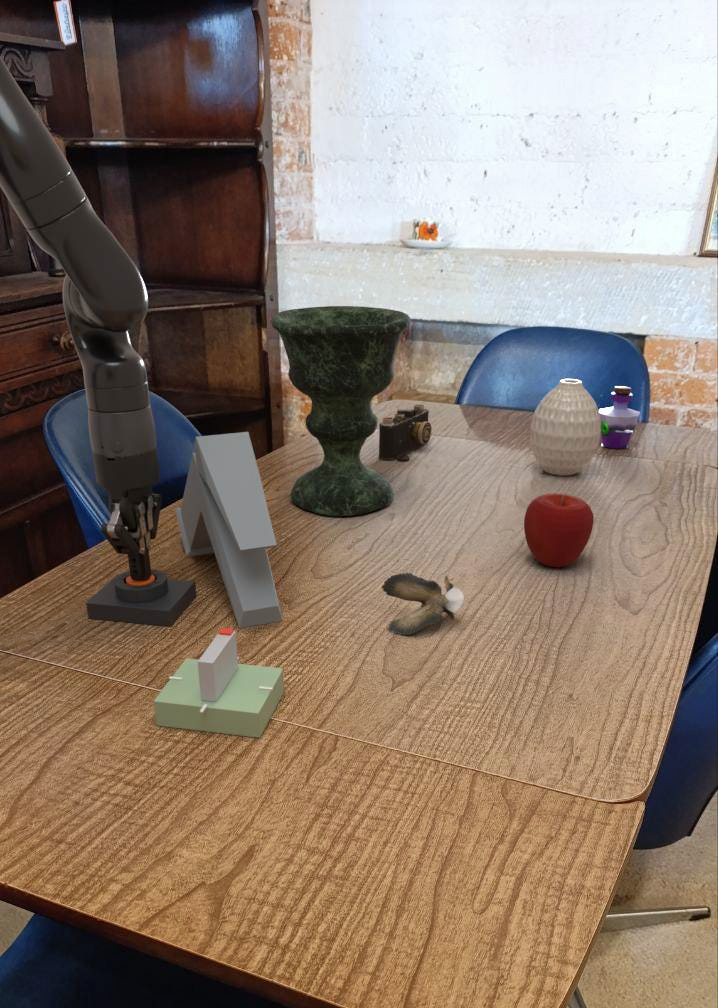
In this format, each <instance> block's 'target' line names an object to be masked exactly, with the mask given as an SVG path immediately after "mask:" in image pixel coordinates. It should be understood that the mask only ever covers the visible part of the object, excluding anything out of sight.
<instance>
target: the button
mask: <svg viewBox="0 0 718 1008" xmlns="http://www.w3.org/2000/svg"><path fill="white" fill-rule="evenodd" d="M154 582H155V577H154V575H152V574H151V576H150V577H149V578H148V579H147V580H146V581H137V580H132V579H131V576H128V577H127V578H126V584H127V585H129V586H144V585H148V584H151V583H154Z"/></svg>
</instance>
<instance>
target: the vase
mask: <svg viewBox="0 0 718 1008" xmlns="http://www.w3.org/2000/svg"><path fill="white" fill-rule="evenodd" d="M599 410H600V409H599V408H598V405H597V403H596V401H595V400H594V397H593V396H592V395H591V393H590V392H589V391H588V390H587V389H586V388H585V387H584V385H583V382H582V380H579V379H574V378H564V379H561V380H559V382H558V384H557V385H556V386H555V387H553V389H551V390H550V391H549V392H548V393H547V394H546V395H544V396H543V398H542V399H541V400H540V402H539V403H538V405H537V407H536V408H535V410H534V412H533V415H532V418H531V422H530V426H529V444H530V449H531V451H532V454H533V457H534V458H535V460H536V462H537V464H538V465H539V466H540V468H541V469H542V470H543V471H544V472H545V473H547V474H549V475H553V476H560V477H568V476H575V475H577V473H579V472H580V471H581V470H582V469H584V468H585V467H586V466H587V465H588V463H590V461H591V459H592V458H593V456H594V455H595V453H596V451H597V449H598V447H599V444H600V441H601V440H600V439H601V436H602V434H601V418H600V413H599Z"/></svg>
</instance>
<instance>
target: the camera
mask: <svg viewBox="0 0 718 1008" xmlns="http://www.w3.org/2000/svg"><path fill="white" fill-rule="evenodd" d="M429 413H430V410H429V409H428V408H425V405H424V404H414V405H413V408H412V409H397V411H396V413H395V414H394V417H389V416H388V417H387V416H386V417H383V418H382V422H380V423H379V424H378V425H379V426H378V427H379V428H378V429H379V431H378V432H379V434H378V435H379V436H378V437H379V438H378V459H379V460H381V461H385V462H386V461H388V462H390V461H394V460H396V459H397V461H399V462H408V461H409V460H410V454H412V452H413V451H414V450H417V449H419V448H421V447H423V446H425V445H427V444H428V443H429V441H430V439H431V436H432V430H433V429H432V424H431V422H429V416H430V415H429Z"/></svg>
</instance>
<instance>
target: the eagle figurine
mask: <svg viewBox="0 0 718 1008" xmlns="http://www.w3.org/2000/svg"><path fill="white" fill-rule="evenodd" d="M449 581H450V579H449V576H448V574H446V575H444V585H445V590H446V591H445V593H443V594H442V592H443V591H442V587H441V586H440V585H439V584H438V583H437V582H436V581H435V580H427V579H425V578H423V577H420V576H417V575H414V574H413V573H411V572H405V573H404V572H402V573H398V574H397V573H396V574H392V575H390V576H389V577H387V579H386V580H384V582H383V584H382V585H381V588H382V591H383V592H385V595H387V596H390V597H393V598H397V599H401V600H404V601H407V602H408V601H409V602H418V603H421V604H420V606H419V607H418V608H417V609H415V610H413V611H410V612H408V613H407V614H405V615H403V616H401V617H399V618H396V619H393V620H391V621H390V623H389V624H388V627H387V630H388V632H392V634H393V633H394V634H398V635H404V636H407V635H410V634H414V633H417V632H418V631H419V630H422V629H424V628H425V627H427V626H431V625H436V624H437V623H439V622H440V621H441V620H442V618H443V614H444V613H445V614H446V615H448V617H449V619H450V620H455V614H456V613H457V612H458V611H460V609H461V608H462V607H463V606H464V602H465V594H464V592H463V591H462V590H461V589H459V588H458V587H455V586H454V584H453V583H452V582H449Z"/></svg>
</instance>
